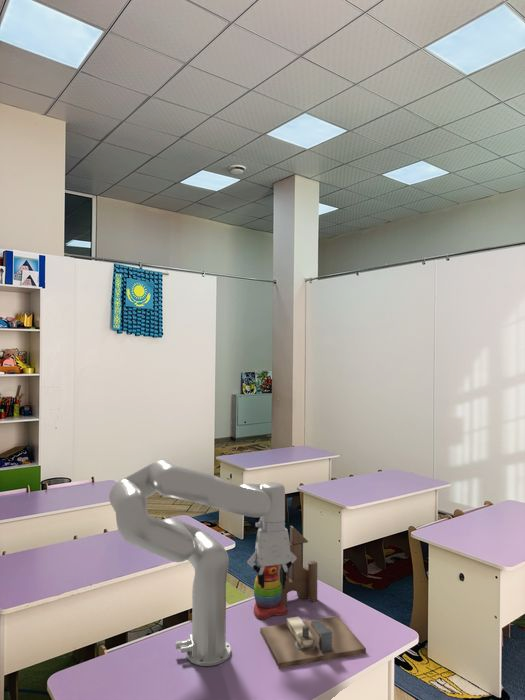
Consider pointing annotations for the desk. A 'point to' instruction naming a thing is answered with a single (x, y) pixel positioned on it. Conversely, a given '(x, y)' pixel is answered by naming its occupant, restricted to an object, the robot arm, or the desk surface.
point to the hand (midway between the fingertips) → (272, 584)
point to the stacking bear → (268, 595)
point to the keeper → (323, 636)
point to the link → (301, 632)
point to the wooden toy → (299, 572)
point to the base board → (293, 655)
